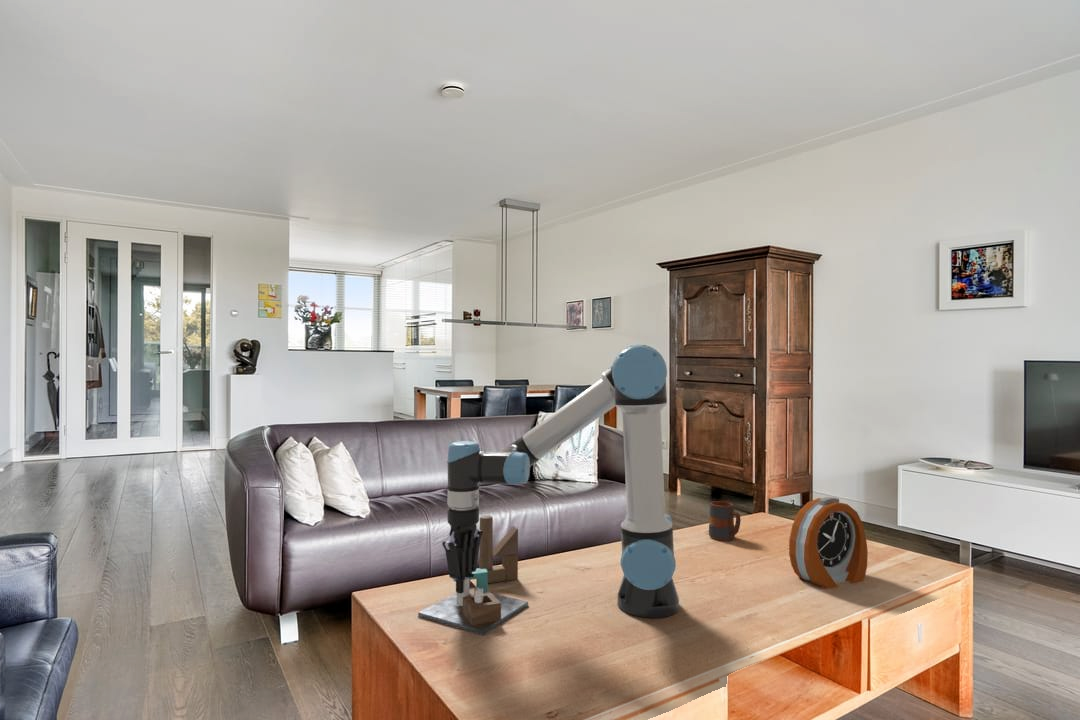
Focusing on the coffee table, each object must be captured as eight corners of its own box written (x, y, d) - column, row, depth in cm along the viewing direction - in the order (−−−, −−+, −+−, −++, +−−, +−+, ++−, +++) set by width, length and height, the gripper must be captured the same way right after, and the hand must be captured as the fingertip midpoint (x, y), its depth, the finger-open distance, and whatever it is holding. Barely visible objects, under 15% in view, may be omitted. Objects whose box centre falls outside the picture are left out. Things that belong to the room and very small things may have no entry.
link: (500, 620, 144) (501, 602, 144) (472, 625, 141) (472, 607, 141) (475, 592, 161) (475, 576, 161) (449, 596, 158) (449, 580, 158)
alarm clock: (816, 591, 165) (816, 506, 165) (787, 579, 174) (788, 498, 174) (874, 579, 174) (874, 498, 174) (844, 568, 183) (844, 491, 183)
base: (528, 605, 155) (528, 573, 155) (482, 635, 139) (482, 599, 139) (467, 590, 165) (467, 560, 165) (418, 616, 149) (418, 583, 148)
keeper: (488, 602, 157) (488, 572, 157) (454, 606, 154) (454, 576, 154) (485, 596, 161) (485, 567, 161) (451, 601, 158) (451, 571, 158)
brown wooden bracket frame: (518, 579, 173) (518, 515, 173) (481, 585, 169) (481, 519, 169) (513, 575, 176) (513, 511, 176) (477, 580, 172) (477, 515, 172)
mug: (731, 545, 204) (731, 510, 204) (703, 536, 214) (703, 502, 214) (748, 541, 209) (748, 506, 209) (720, 532, 219) (720, 499, 219)
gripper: (458, 514, 142) (458, 617, 142) (491, 503, 153) (491, 598, 153) (433, 510, 146) (433, 610, 146) (467, 499, 157) (467, 592, 157)
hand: (462, 604), depth 150 cm, fingers closed
